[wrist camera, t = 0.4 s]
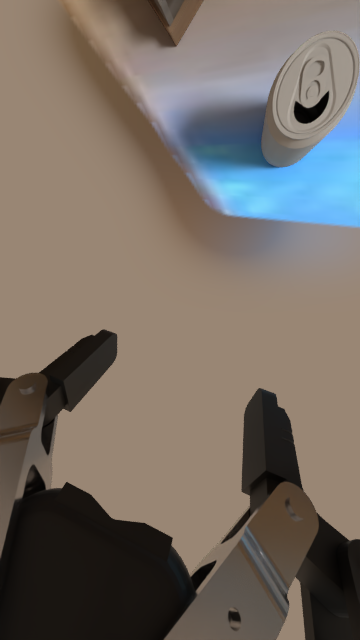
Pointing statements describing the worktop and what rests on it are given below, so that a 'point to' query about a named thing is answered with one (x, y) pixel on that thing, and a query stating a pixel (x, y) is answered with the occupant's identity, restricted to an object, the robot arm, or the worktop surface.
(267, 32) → the worktop surface
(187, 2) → the wooden compartment tray
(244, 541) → the robot arm
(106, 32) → the worktop surface
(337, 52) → the beverage can
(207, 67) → the worktop surface
